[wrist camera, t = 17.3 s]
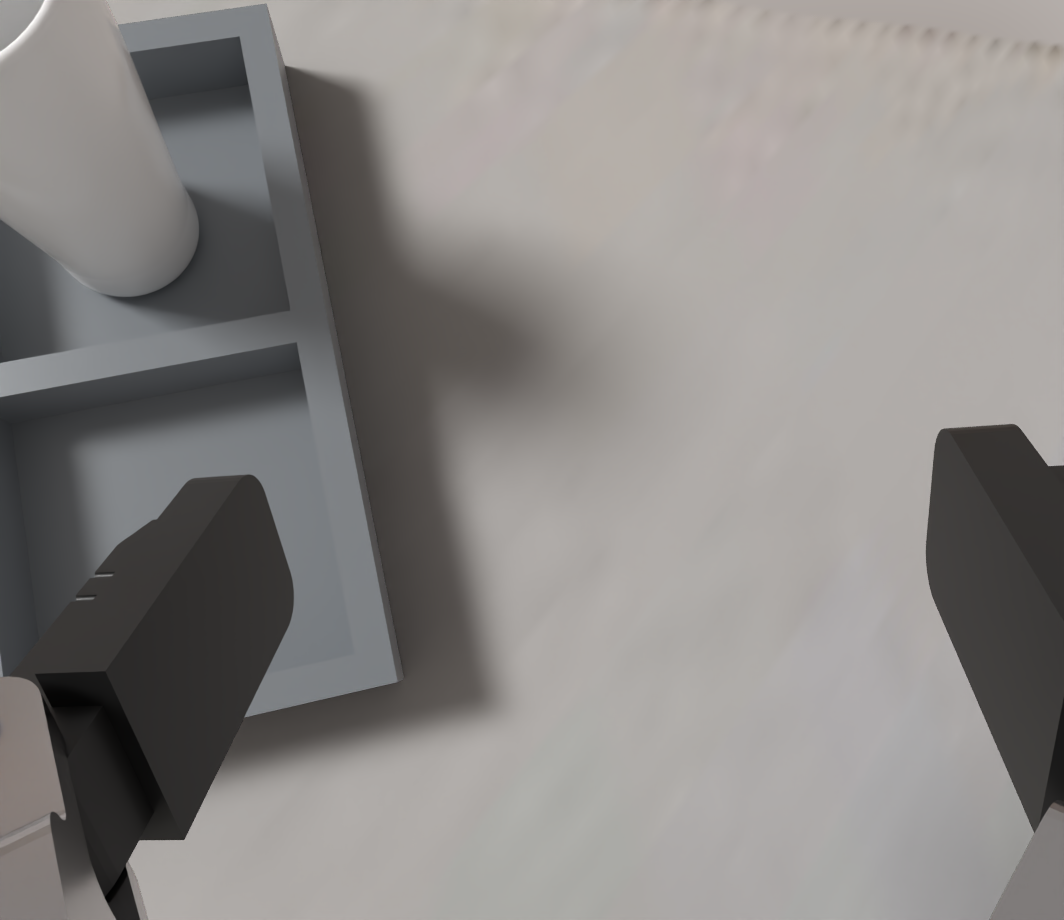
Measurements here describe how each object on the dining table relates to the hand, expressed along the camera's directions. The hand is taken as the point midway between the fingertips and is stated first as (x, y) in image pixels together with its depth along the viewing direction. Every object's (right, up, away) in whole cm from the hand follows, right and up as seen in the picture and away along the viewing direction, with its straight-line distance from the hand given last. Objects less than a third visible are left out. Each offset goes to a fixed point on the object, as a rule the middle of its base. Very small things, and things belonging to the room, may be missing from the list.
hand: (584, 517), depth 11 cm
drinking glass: (-16, +9, +25) cm, 31 cm away
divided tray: (-15, +4, +25) cm, 29 cm away
